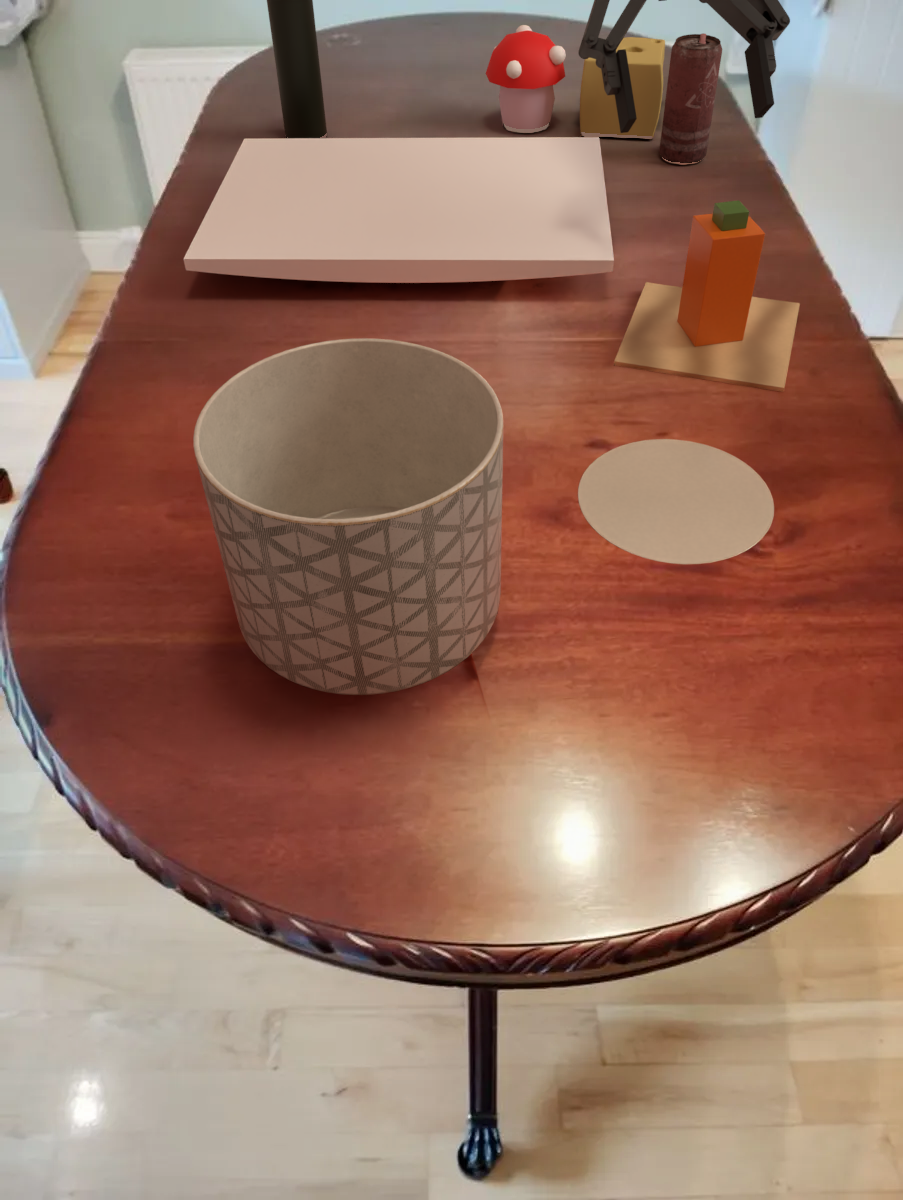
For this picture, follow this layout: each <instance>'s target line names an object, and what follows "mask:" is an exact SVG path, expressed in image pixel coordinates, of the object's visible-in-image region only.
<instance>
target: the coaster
mask: <svg viewBox="0 0 903 1200" xmlns="http://www.w3.org/2000/svg"><path fill="white" fill-rule="evenodd" d="M682 287H683V286H677V285H669V284H661V283H655V282H654V283H653V282H649V281H645V283H644V286H643V288H642V290H641V293H640V296H639V298H638V300H637V303H636V305H635V308H634V310H633V313H632V316H631V318H630V320H629V323H628V326H627V327H626V331H625V333H624V336H623V338H622V340H621V342H620V345H619V348H618V350H617V353H616V355H615V358H614V360H613V366H616V367H617V366H618V367H623V368H630V369H636V370H642V371H648V372H655V373H661V374H667V375H673V376H674V375H675V376H681V377H685V378H693V379H700V380H705V381H713V382H719V383H725V384H731V385H737V386H744V387H749V388H757V389H761V390H768V391H774V392H781V393H784V392H785V387H786V382H787V376H788V371H789V366H790V360H791V354H792V349H793V344H794V339H795V332H796V328H797V321H798V317H799V312H800V305H801V303H800V302H794V301H787V300H779V299H772V298H771V299H770V298H764V297H757V296H752V299H751V304H750V309H749V313H748V318H747V323H746V328H745V332H744V337H743V340H741V341H733V342H726V343H718V344H711V345H704V346H696V347H695V346H694V344H693V343H692V341H691V340H690V339H689V337H688V336H687V334H686V333H685V331H684V330H683V329H682V327H681V326H680V324H679V323H678V321H677V319H678V313H679V306H680V300H681V293H682Z"/></svg>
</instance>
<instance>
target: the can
mask: <svg viewBox="0 0 903 1200" xmlns="http://www.w3.org/2000/svg"><path fill="white" fill-rule="evenodd" d="M721 42H722V41H721V39H719V38H717V37H716V36H713V35H708V34H707V33H690V34H683V35H681V36H678V37H676V38H675V41H674V43H673V45H672V46H671V49H670V59H669V67H668V75H667V83H666V84H667V85H666V91H665V92H666V93H665V100H664V107H663V108H664V109H663V117H662V125H661V131H660V132H661V133H660V141H659V149H658V154H659V156H660V155H661V156H660V158H661V157H663V158H664V159H666V160H668V161H671V162H680V163H692V162H698V161H700V160H702V159H703V158H704V159H705V157H706V156H707V151H708V145H709V139H710V132H711V126H712V119H713V113H714V107H715V100H716V94H717V87H718V81H719V75H720V68H721V62H722V55H723V47H722V44H721ZM704 159H703V160H704ZM703 160H702V161H703Z"/></svg>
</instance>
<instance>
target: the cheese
mask: <svg viewBox="0 0 903 1200" xmlns="http://www.w3.org/2000/svg"><path fill="white" fill-rule="evenodd" d="M622 49H626V54H627V60H628V66H629V73H630V79H631V85H632V92H633V98H634V104H635V111H636V117H637V119H636V121H635V122H634V124H633V125H632V127H631V129H630V130H629V132H626V133H621V132H620V126H619V119H618V113H617V107H616V100H615V95H607V94H606V92H605V90H604V84H603V77H602V71H601V68H599V67H597V65H596V59H593V58H588V59H583V68H582V75H581V84H580V91H579V92H580V93H579V129H580V133H581V132H585V133H600V134H617V135H637V136H653V137H654V135H655V132H656V129H657V127H658V123H659V119H660V114H661V108H662V101H663V94H664V93H663V92H664V69H663V68H664V61H665V51H666V40H665V39H658V38H650V37H639V36H638V37H634V36H632V37H631V36H629V37H628V36H627V37H625V36H624V38H623V39H622V41H621V43H620V44H619V46H618V48H617V49H616V53H617V51H618V50H622Z"/></svg>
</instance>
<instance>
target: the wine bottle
mask: <svg viewBox="0 0 903 1200" xmlns="http://www.w3.org/2000/svg"><path fill="white" fill-rule="evenodd" d="M266 4H267V5H266V6H267V13H268V19H269V28H270V34H271V35H270V36H271V40H272V41H271V42H272V48H273V55H274V57H273V58H274V63H275V69H276V70H275V71H276V78H277V84H278V91H279V99H280V107H281V113H282V122H283V127H284V134H285V135H286V136H285V138H286V137H288V138H320V137H322V136H324V135H325V134H326V133H327V134H328V130H327V120H326V111H325V110H326V109H325V102H324V93H323V84H322V73H321V65H320V55H319V48H318V47H319V45H318V39H317V37H318V36H317V27H316V20H315V19H316V18H315V10H314V1H313V0H266Z"/></svg>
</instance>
